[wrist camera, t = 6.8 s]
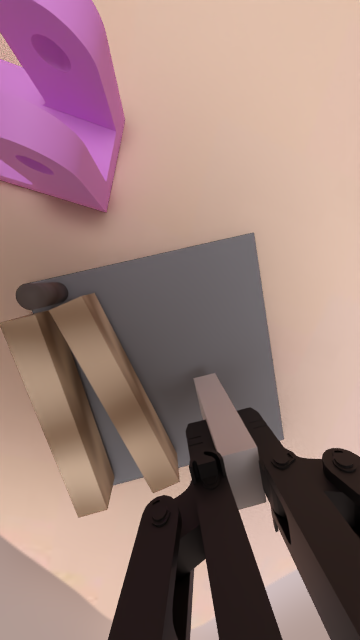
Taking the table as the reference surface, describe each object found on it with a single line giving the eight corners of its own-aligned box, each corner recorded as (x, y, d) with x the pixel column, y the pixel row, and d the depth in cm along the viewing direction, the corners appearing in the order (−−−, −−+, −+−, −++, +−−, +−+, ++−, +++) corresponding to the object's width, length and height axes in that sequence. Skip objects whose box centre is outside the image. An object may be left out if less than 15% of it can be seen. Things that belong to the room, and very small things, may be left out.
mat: (25, 284, 15) (22, 284, 15) (251, 233, 16) (253, 232, 15) (99, 484, 18) (98, 489, 18) (281, 436, 19) (283, 439, 19)
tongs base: (19, 290, 15) (-20, 293, 11) (64, 279, 15) (38, 280, 12) (90, 480, 18) (76, 524, 15) (127, 470, 18) (120, 511, 15)
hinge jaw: (67, 304, 15) (48, 310, 12) (94, 293, 15) (81, 296, 12) (153, 463, 18) (153, 493, 15) (176, 453, 18) (179, 481, 15)
